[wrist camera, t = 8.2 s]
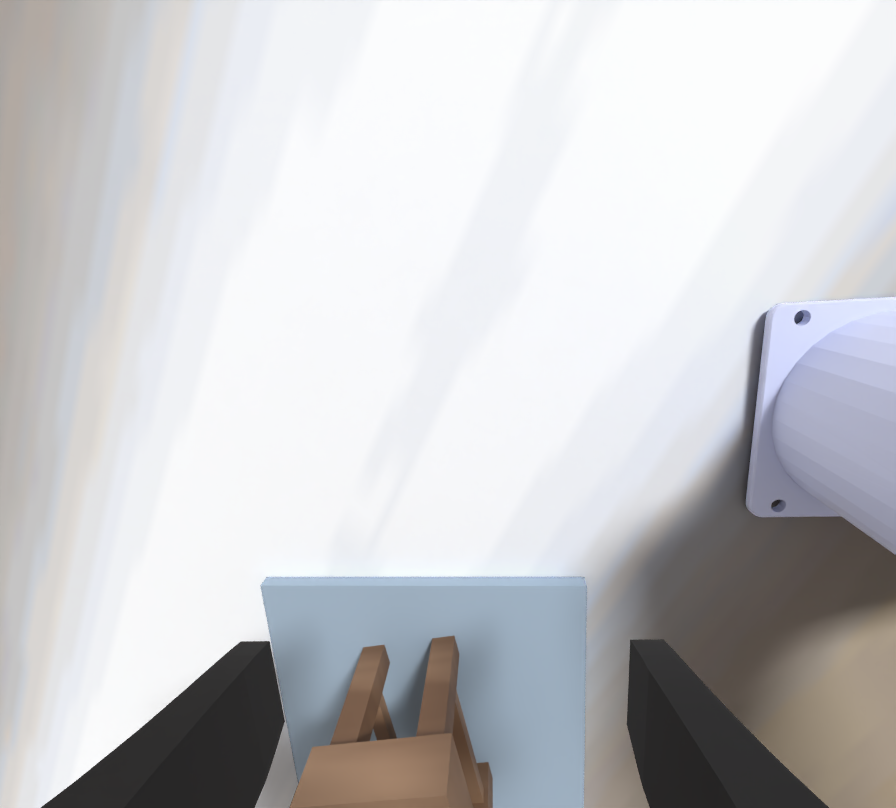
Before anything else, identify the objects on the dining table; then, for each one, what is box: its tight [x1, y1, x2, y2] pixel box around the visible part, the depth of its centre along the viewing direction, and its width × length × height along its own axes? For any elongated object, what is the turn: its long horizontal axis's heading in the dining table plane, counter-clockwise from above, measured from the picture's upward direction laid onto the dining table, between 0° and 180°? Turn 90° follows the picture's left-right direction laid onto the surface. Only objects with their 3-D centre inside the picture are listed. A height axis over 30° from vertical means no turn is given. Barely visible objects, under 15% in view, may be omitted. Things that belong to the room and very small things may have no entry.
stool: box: [290, 636, 493, 808], centre depth 19 cm, size 9×5×7 cm, turn 13°
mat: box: [261, 577, 587, 808], centre depth 23 cm, size 14×14×1 cm
